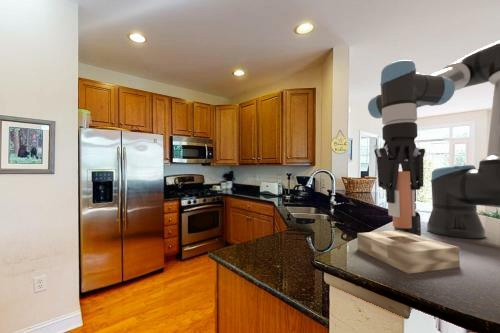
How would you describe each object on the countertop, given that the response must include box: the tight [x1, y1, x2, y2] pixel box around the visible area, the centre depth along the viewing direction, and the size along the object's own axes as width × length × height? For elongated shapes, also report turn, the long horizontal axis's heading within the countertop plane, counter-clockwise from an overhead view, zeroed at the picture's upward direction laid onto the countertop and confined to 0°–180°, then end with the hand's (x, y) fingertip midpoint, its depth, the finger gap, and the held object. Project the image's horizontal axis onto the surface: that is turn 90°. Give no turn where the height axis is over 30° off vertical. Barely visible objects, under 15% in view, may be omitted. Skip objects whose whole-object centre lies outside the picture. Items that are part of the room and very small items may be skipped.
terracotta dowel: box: [392, 170, 412, 228], centre depth 58 cm, size 4×4×14 cm
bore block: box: [356, 230, 461, 275], centre depth 58 cm, size 14×16×4 cm
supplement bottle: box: [393, 202, 422, 236], centre depth 72 cm, size 7×7×12 cm
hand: (401, 215), depth 58 cm, fingers closed on terracotta dowel, 4 cm apart
